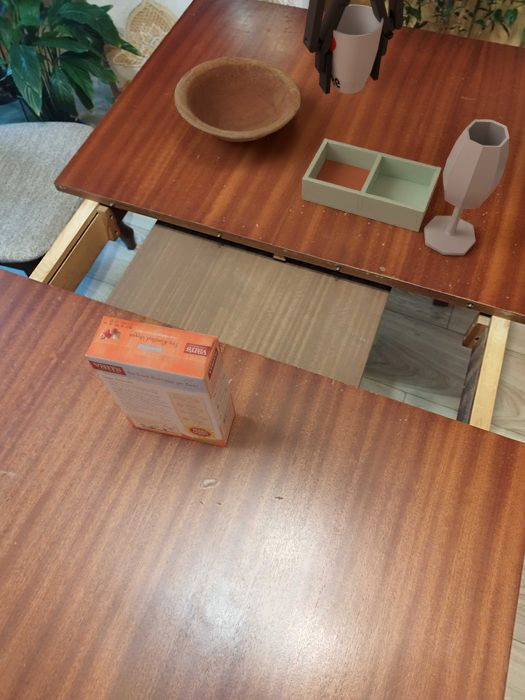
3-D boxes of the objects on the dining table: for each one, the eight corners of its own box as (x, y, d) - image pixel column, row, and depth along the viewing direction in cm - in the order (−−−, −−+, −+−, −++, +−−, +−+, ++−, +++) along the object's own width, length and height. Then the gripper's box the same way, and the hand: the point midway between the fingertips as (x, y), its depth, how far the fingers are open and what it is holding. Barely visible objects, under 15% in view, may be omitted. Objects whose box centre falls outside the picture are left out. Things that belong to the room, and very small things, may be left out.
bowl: (262, 183, 100) (260, 148, 93) (158, 144, 107) (149, 108, 100) (320, 109, 110) (322, 72, 103) (221, 77, 116) (217, 40, 109)
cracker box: (237, 410, 78) (220, 334, 60) (225, 449, 75) (204, 382, 57) (145, 390, 80) (103, 311, 62) (131, 427, 77) (82, 356, 59)
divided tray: (435, 188, 97) (441, 167, 93) (418, 232, 92) (424, 212, 88) (323, 159, 102) (324, 138, 98) (301, 199, 98) (302, 178, 93)
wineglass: (429, 212, 95) (462, 106, 76) (479, 225, 93) (526, 119, 74) (416, 249, 91) (447, 146, 72) (468, 263, 89) (514, 161, 71)
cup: (326, 67, 89) (329, 3, 81) (375, 69, 88) (384, 5, 80) (320, 98, 85) (323, 34, 77) (372, 101, 84) (381, 37, 76)
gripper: (424, -119, 70) (395, 53, 90) (276, -84, 67) (280, 85, 87) (454, -95, 66) (417, 78, 86) (299, -57, 64) (297, 113, 83)
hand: (348, 81), depth 87 cm, fingers closed on cup, 8 cm apart
